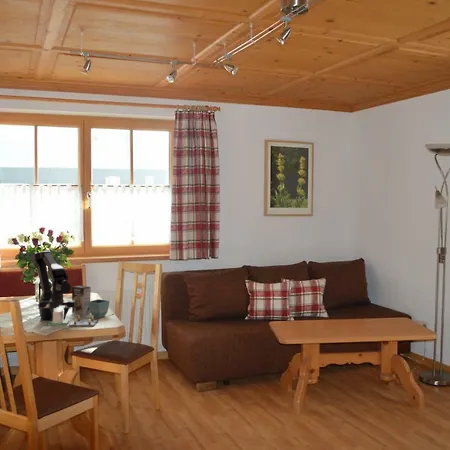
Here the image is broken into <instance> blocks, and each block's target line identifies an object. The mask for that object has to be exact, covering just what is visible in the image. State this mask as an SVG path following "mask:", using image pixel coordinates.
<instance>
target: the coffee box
mask: <svg viewBox="0 0 450 450" xmlns="http://www.w3.org/2000/svg"><path fill="white" fill-rule="evenodd" d="M71 301H76V306H75V307H71V313H72V314H73V315H77V316H86V315H91V313H90V310H89V305H88V302H89V301H91V286H86V285H74V286H72V287H71Z"/></svg>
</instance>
